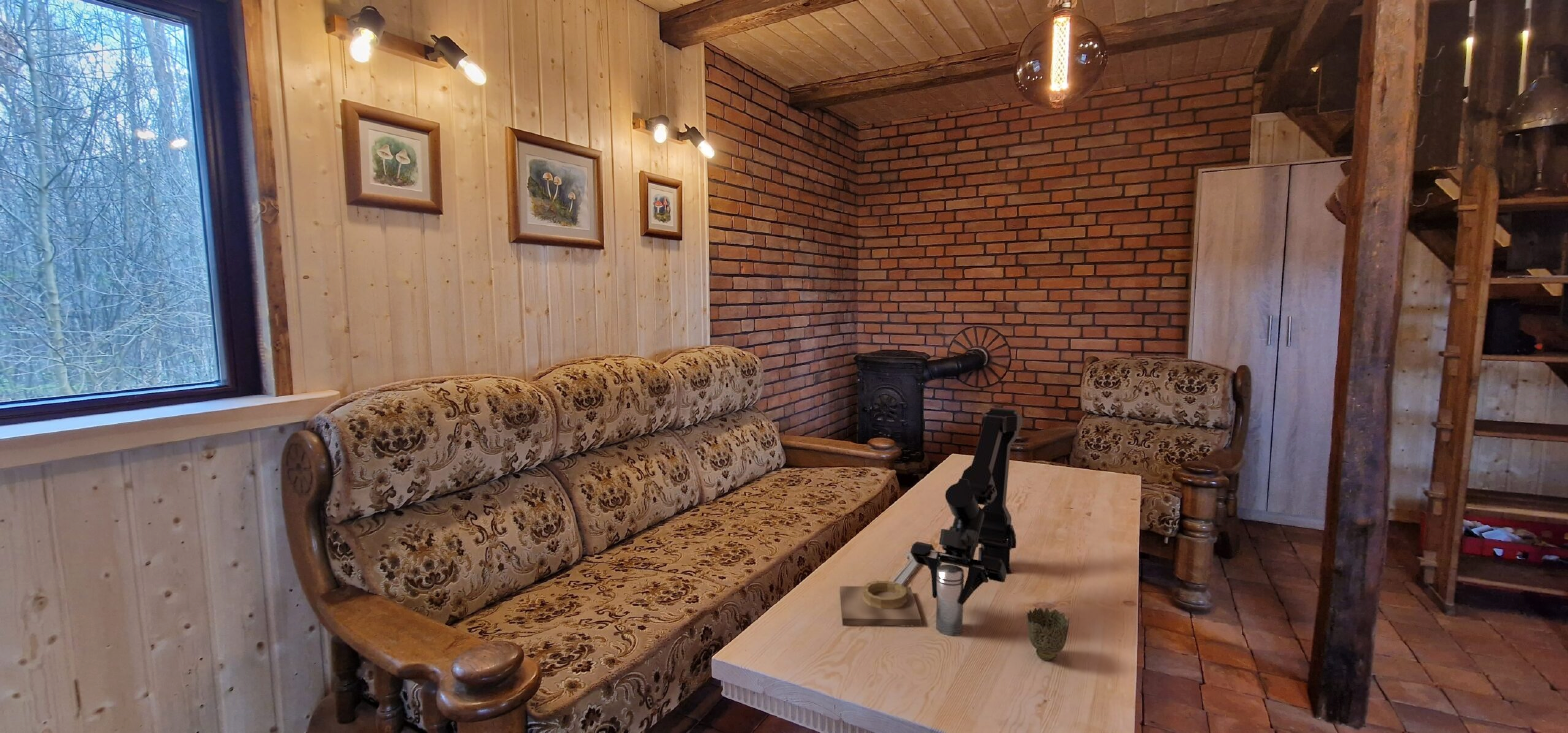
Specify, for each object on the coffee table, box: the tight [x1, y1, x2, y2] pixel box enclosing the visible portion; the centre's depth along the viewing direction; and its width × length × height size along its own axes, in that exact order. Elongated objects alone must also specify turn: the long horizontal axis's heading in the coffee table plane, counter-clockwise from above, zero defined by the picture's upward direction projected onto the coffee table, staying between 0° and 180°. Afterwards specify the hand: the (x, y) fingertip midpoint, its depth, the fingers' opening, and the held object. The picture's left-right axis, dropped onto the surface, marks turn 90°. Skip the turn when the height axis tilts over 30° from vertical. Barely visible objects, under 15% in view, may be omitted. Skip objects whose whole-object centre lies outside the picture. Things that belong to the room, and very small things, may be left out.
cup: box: [1026, 607, 1071, 662], centre depth 126 cm, size 8×7×8 cm
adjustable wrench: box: [891, 549, 921, 587], centre depth 165 cm, size 25×6×2 cm, turn 147°
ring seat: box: [839, 580, 922, 627], centre depth 146 cm, size 16×15×4 cm
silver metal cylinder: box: [935, 564, 965, 637], centre depth 136 cm, size 5×5×12 cm
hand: (947, 600), depth 135 cm, fingers closed on silver metal cylinder, 5 cm apart
